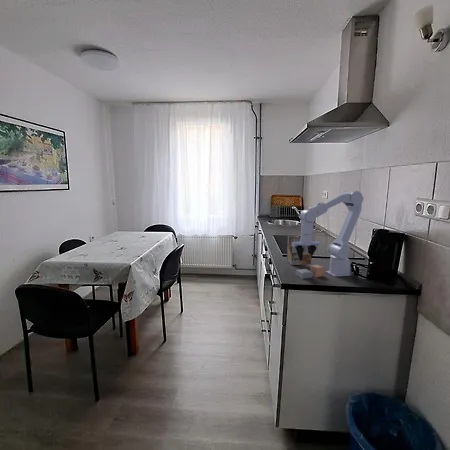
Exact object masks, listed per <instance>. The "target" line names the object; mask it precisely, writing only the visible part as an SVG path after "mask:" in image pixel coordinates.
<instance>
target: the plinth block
mask: <svg viewBox="0 0 450 450" xmlns="http://www.w3.org/2000/svg"><path fill="white" fill-rule="evenodd" d="M295 276H297V277H298V276H299V278H300V279H312V278H313V277H314V276H313V272H311V271H310V269H309V270H308V269H307V268H303V269H300V268H299V269H295Z"/></svg>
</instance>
